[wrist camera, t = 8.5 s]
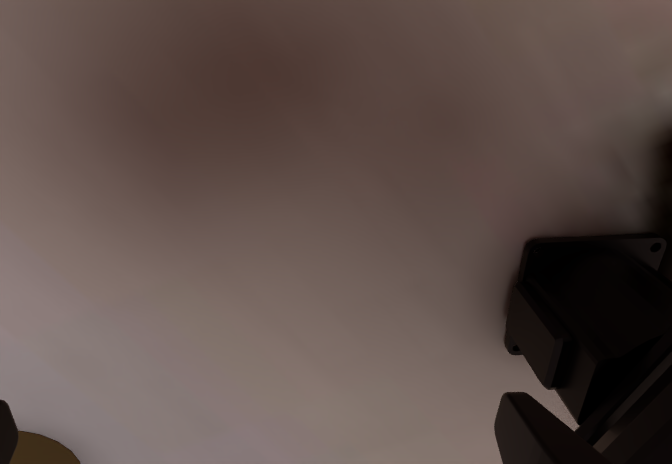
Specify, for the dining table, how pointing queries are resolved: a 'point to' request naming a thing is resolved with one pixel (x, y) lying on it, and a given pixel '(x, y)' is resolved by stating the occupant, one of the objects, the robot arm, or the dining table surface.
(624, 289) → the robot arm
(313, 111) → the dining table surface
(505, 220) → the dining table surface
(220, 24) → the dining table surface
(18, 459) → the olive pepper shaker
